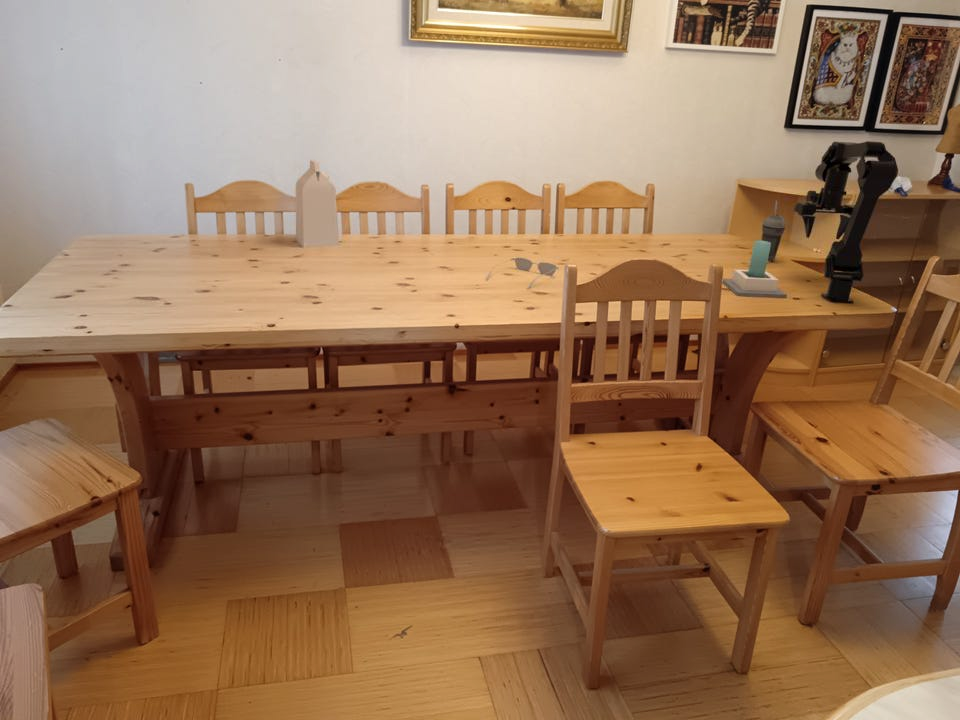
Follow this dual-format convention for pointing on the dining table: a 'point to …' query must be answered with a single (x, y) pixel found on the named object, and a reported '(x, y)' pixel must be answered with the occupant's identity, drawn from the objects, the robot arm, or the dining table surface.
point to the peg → (759, 259)
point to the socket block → (754, 285)
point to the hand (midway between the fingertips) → (822, 238)
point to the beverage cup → (773, 232)
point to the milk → (316, 209)
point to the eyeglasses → (527, 264)
